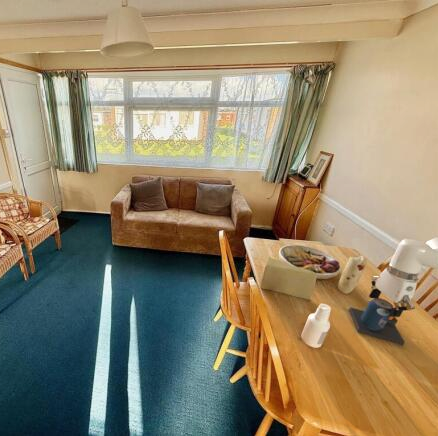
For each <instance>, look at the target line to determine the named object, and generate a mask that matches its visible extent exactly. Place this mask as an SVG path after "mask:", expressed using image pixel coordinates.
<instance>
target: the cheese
mask: <svg viewBox="0 0 438 436" xmlns="http://www.w3.org/2000/svg"><path fill="white" fill-rule="evenodd" d="M316 278H317V274H316V273H315V272H313V271H310V270H306V269H303V268H299V267H296V266H293V265H290V264H286V263H284V262H282V261H281V260H280V259H279V260H278V259H276V258H273V257H270V256H268V257H267V258H266V260H265V264H264V269H263V272H262V276H261V279H260V284H259V288H260V289H262V290H267V291H272V292H277V293H280V294H281V293H282V294H285V295H289V296H293V297H297V298H299V299H305V300H311V298H312V297H313V296H312V295H313V294H314V291H315V288H316V283H317V279H316Z"/></svg>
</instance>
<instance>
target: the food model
mask: <svg viewBox="0 0 438 436" xmlns="http://www.w3.org/2000/svg"><path fill="white" fill-rule="evenodd" d="M366 264H367V258H365V257H364V256H363V255H359V254H357V255H355V256H350V257H349V258H348V260H347V263H346V265H345V267H344V269H343V270H342V273H341V276H340V279H339V281H338V284H337V290H339V291H340V292H341V293H342V294H346V295H347V294H351V292H353V291H354V289H355V288H356V287H357V285H358V284H359V281H360V279H361V277H362V275H363V273H364V270H365V268H366Z"/></svg>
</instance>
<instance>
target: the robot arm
mask: <svg viewBox="0 0 438 436" xmlns="http://www.w3.org/2000/svg"><path fill="white" fill-rule="evenodd" d="M423 267H427V268H430V269H432V270H436V271H438V237H434V238H432V239H430V240H427V241H426V242H424V241H421V240H418V239H412V238H404V239H402V240H401V241H400V242H399V243H398V245H397V247H396V250H395V252H394V254H393V256H392V258H391V260H390V262H389V264H388V265H387V267H385V269H384V270H383V271H382V272H381V273H380V274H379V276H377V275H371V291H370V293H369V295H368V297H369V298H370V299H374V298H380V296H381V294H383V295H384V296H385V297H387V299H389V300H390V301H391V302H393V305H394V307H393V308H392V310H391V312H390V314H389V316H391V317H395V318H400V317H401V316H402V314H403V312H405V311H407V312H408V311H412V310H415V309H416V306H415V305H414V303H413V301H412V300H413V297H414V295H415V292H416V289H417V284H418V281H419V278H418V276H419V274H420V273H421V270H422V269H423Z"/></svg>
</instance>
